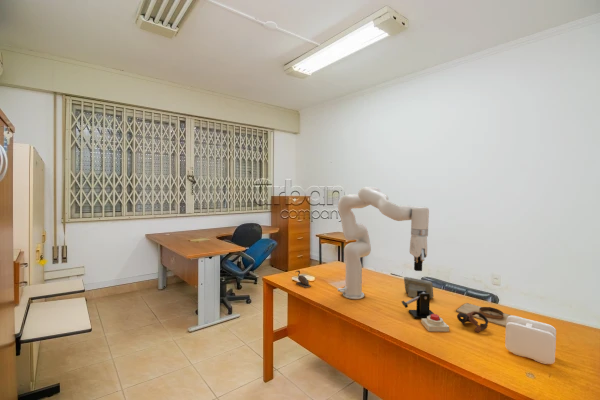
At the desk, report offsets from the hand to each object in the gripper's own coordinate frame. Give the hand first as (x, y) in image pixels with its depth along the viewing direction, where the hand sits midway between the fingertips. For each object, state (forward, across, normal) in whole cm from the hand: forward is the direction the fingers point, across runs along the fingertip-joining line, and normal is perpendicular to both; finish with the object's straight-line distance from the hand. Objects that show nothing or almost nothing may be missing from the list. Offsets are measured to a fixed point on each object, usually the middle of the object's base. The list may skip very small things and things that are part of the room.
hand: (417, 270), depth 135 cm
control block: (+24, +8, +5) cm, 26 cm away
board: (+24, -5, +38) cm, 45 cm away
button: (+20, +8, +5) cm, 22 cm away
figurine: (+26, -49, -56) cm, 79 cm away
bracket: (+24, -4, +5) cm, 25 cm away
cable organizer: (+23, +28, +32) cm, 48 cm away
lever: (+17, -4, +1) cm, 18 cm away
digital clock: (+24, -30, +13) cm, 41 cm away
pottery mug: (+24, +8, +22) cm, 33 cm away
